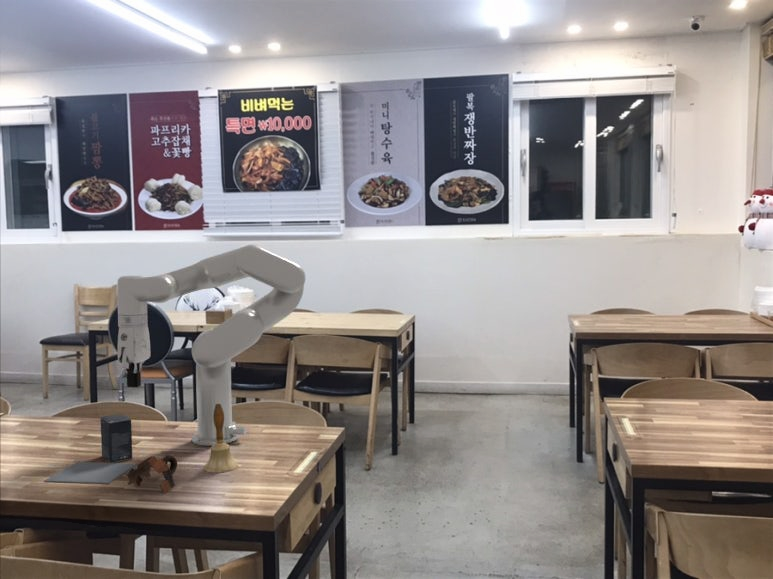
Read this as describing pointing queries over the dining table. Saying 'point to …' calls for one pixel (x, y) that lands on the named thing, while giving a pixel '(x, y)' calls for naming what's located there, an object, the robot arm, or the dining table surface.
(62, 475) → the mat
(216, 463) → the hand bell
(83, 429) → the dining table surface
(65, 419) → the dining table surface
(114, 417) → the box
